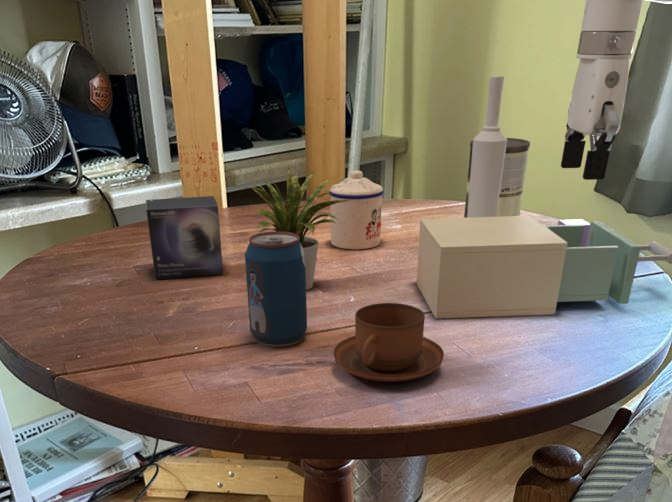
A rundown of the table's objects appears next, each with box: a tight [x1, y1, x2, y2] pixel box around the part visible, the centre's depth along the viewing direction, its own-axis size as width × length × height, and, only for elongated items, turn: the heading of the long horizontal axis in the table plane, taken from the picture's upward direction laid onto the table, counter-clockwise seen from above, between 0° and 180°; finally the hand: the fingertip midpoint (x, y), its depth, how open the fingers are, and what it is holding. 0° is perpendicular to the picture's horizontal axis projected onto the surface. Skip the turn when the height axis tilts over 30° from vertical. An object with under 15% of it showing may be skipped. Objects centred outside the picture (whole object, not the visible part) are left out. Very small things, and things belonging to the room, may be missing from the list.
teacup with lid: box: [328, 170, 384, 250], centre depth 120 cm, size 12×9×12 cm
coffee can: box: [463, 137, 531, 218], centre depth 127 cm, size 10×10×14 cm
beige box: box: [415, 215, 567, 320], centre depth 94 cm, size 16×15×9 cm
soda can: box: [244, 231, 308, 348], centre depth 82 cm, size 7×7×12 cm
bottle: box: [467, 75, 508, 218], centre depth 111 cm, size 5×5×25 cm
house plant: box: [246, 165, 351, 291], centre depth 97 cm, size 14×14×16 cm
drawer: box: [544, 220, 672, 305], centre depth 94 cm, size 22×13×7 cm, turn 93°
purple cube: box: [557, 218, 591, 247], centre depth 116 cm, size 4×4×4 cm
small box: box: [145, 195, 224, 280], centre depth 107 cm, size 11×6×10 cm, turn 102°
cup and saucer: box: [333, 302, 445, 383], centre depth 76 cm, size 12×12×6 cm
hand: (581, 173), depth 111 cm, fingers open, 9 cm apart
